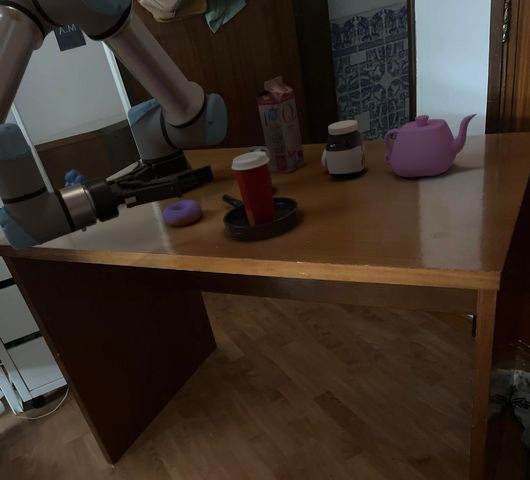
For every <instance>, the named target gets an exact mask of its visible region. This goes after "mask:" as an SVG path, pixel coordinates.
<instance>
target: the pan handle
mask: <svg viewBox="0 0 530 480" xmlns="http://www.w3.org/2000/svg"><path fill="white" fill-rule="evenodd" d="M221 199H222V201H223V202H224V203H225V204H228V205H231V206H232V207H233V208H235V207H237V206H239V205H241V204H244V203H243V200H239V199H237V198H236V197H233V196H231V195H230V194H226V193H225V194H223V195H222V197H221Z"/></svg>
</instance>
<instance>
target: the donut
mask: <svg viewBox="0 0 530 480" xmlns="http://www.w3.org/2000/svg"><path fill="white" fill-rule="evenodd" d="M202 214H203V209H202V205H201V204H200V203H199V202H198V201H196V200H192V199H184V200H183V199H182V200H179V201H177V202H174V203H172V204H169V205H168V206H166V207H165V208H164V209H163V211H162V214H161V217H162V220H163V221H164V223H165V224H167V225H168V226H171V227H180V226H181V227H183V226H186V225H190V224H192V223H195V222H196V221H198V220H199V219H200V218H201V216H202Z"/></svg>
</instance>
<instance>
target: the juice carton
mask: <svg viewBox="0 0 530 480" xmlns="http://www.w3.org/2000/svg"><path fill="white" fill-rule="evenodd" d="M263 84H264V90H263V91H262V92H261V93H260V94H259V95H258V96H257V97H256V101H257V107H258V111H259V116H260V122H261V127H262V131H263V136H264V143H265V147H266V148H267V149H268V150H269V152H270V154H271V157H272V158H271V160H269V163H270V171H271V172H274V173H275V172H276V173H291V172H293V171H295V170H297V169H298V168H301V167H302V166H304V165H305V164H306V162H305V161H306V160H305V156H304V155H305V154H304V149H303V148H304V147H303V142H302V137H301V130H300V124H299V119H298V118H299V117H298V110H297V105H296V104H297V103H296V97H295V92H294V89H293V88H292V87H290V86H289V85H288V84H285V83H284V82H283V77H282V75H279V76H276V77H275V78H271V79H270V80H267V81H264V82H263Z"/></svg>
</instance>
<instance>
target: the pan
mask: <svg viewBox="0 0 530 480" xmlns="http://www.w3.org/2000/svg"><path fill="white" fill-rule="evenodd" d="M273 201H274V209H275V217H276V220H275V221H272V222H268V223H265V224H260V225H254V226H250V223H249V220H248V217H247V213H246V210H245V207H244V204H241V205H239V206H237V207H233V208H231V209H230V210H228V211H227V212H226V213H225V214H224V216H223V219H222V222H223V225H224V228H225V232H226V236H227V237H229V238H230V239H232V240H235V241H239V242H240V241H241V242H253V241H261V240H266V239H270V238H274V237H277V236H280V235H282V234H285V233H287V232H289V231H290V230H292V229H294V228H295V227H296V226H297V225H298V224H299V223H300V221H301V213H300V207H299V202H298V201H297V200H296V199H294V198H292V197H286V196H273Z"/></svg>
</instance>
